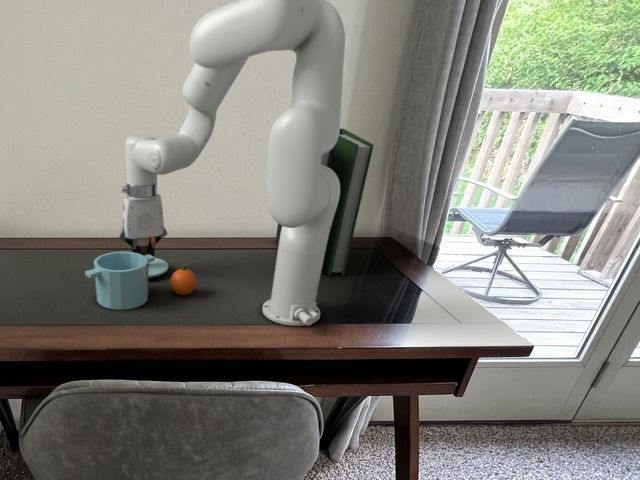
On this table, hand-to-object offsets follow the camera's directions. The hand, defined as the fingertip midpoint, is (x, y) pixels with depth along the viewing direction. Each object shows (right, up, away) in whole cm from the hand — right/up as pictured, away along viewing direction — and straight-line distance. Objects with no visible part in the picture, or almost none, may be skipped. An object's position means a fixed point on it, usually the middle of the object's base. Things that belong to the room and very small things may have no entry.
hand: (143, 260), depth 127 cm
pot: (-5, -12, -11) cm, 17 cm away
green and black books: (+47, +3, +9) cm, 48 cm away
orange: (+10, -10, -10) cm, 17 cm away
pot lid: (0, -2, +1) cm, 2 cm away
